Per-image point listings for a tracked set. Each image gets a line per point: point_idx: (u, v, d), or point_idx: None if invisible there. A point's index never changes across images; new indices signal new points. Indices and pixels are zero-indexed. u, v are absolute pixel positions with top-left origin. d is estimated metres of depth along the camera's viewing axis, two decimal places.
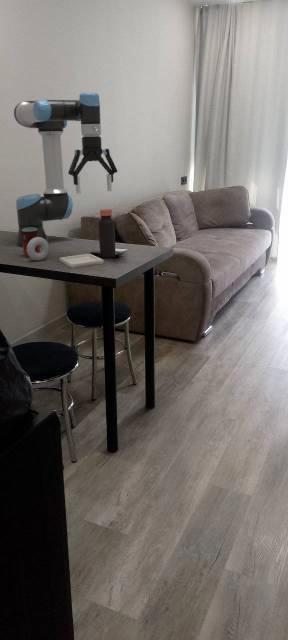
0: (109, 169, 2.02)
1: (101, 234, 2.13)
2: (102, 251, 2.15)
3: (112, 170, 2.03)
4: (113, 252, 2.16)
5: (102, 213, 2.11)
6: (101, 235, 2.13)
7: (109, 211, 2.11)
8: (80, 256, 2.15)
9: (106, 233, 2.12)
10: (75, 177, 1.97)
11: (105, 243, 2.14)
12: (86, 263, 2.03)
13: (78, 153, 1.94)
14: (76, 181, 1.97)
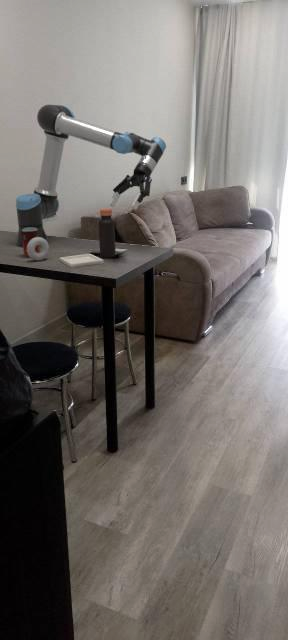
0: (141, 190, 2.16)
1: (101, 234, 2.13)
2: (102, 251, 2.15)
3: None
4: (113, 252, 2.16)
5: (102, 213, 2.11)
6: (101, 235, 2.13)
7: (109, 211, 2.11)
8: (80, 256, 2.15)
9: (106, 233, 2.12)
10: (115, 193, 2.25)
11: (105, 243, 2.14)
12: (86, 263, 2.03)
13: (126, 177, 2.26)
14: (114, 196, 2.24)
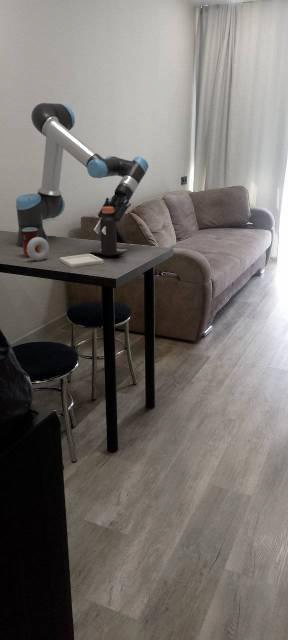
0: (113, 214, 2.12)
1: (101, 231, 2.13)
2: (102, 248, 2.15)
3: None
4: (113, 250, 2.15)
5: (103, 210, 2.10)
6: (101, 232, 2.13)
7: (110, 209, 2.09)
8: (80, 256, 2.15)
9: (106, 231, 2.11)
10: None
11: (105, 241, 2.13)
12: (86, 263, 2.03)
13: (106, 200, 2.19)
14: (99, 221, 2.15)
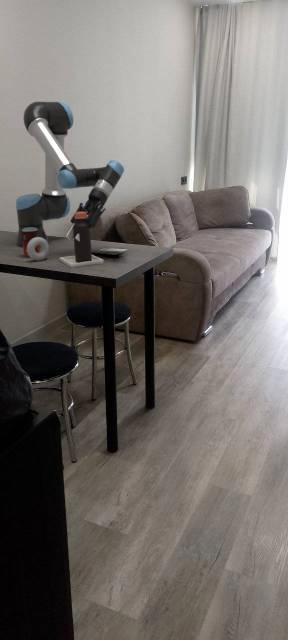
0: (87, 220, 2.02)
1: (74, 238, 2.03)
2: (75, 255, 2.06)
3: None
4: (86, 258, 2.05)
5: (75, 216, 2.00)
6: (74, 238, 2.04)
7: (81, 214, 1.99)
8: None
9: None
10: (72, 224, 2.07)
11: (76, 248, 2.03)
12: (86, 263, 2.03)
13: (80, 205, 2.10)
14: None
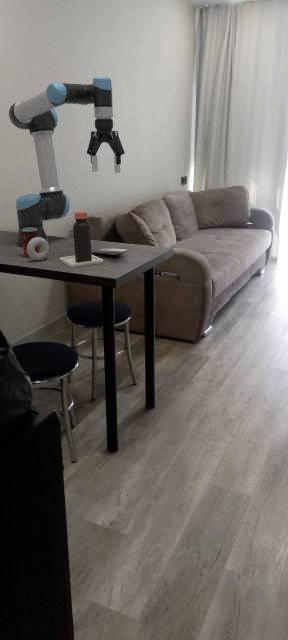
0: (114, 151, 2.07)
1: (74, 238, 2.03)
2: (75, 255, 2.06)
3: None
4: (86, 258, 2.05)
5: (75, 216, 2.00)
6: (74, 238, 2.04)
7: (81, 214, 1.99)
8: None
9: (77, 237, 2.02)
10: (91, 156, 2.17)
11: (77, 248, 2.03)
12: (86, 263, 2.03)
13: (92, 134, 2.12)
14: (91, 160, 2.17)
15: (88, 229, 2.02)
